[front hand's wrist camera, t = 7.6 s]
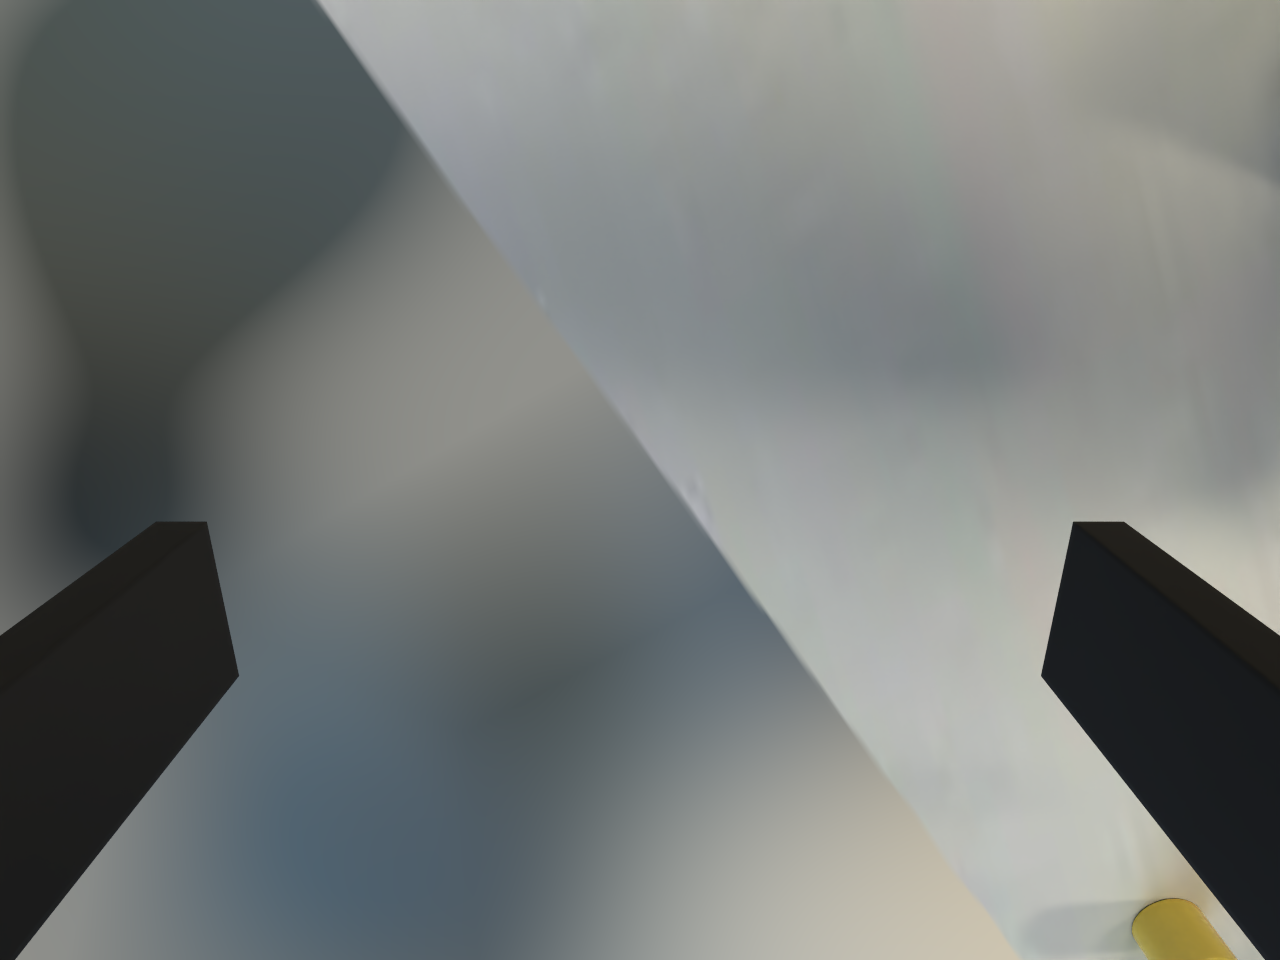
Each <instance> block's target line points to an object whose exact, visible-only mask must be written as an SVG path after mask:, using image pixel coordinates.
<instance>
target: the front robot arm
mask: <svg viewBox="0 0 1280 960" xmlns="http://www.w3.org/2000/svg"><path fill="white" fill-rule="evenodd" d="M238 676H239V674H238V669H237V664H236V659H235V654H234V650H233V645H232V640H231V635H230V631H229V626H228V621H227V616H226V612H225V607H224V602H223V597H222V593H221V588H220V583H219V578H218V573H217V569H216V564H215V559H214V554H213V549H212V545H211V540H210V535H209V530H208V526H207V522H155V523H154V524H152V525H151V526H150V527H148V528H147V529H146V530H144V531H143V532H141V533H140V534H139V535H137V536H136V537H135V538H133V539H132V540H130V541H129V542H128V543H126V544H125V545H124V546H122V547H121V548H120V549H118V550H117V551H115V552H114V553H113V554H111V555H110V556H109V557H107V558H106V559H104V560H103V561H102V562H100V563H99V564H98V565H96V566H95V567H94V568H92V569H91V570H90V571H88V572H87V573H85V574H84V575H83V576H81V577H80V578H79V579H77V580H76V581H74V582H73V583H72V584H70V585H69V586H68V587H66V588H65V589H63V590H62V591H61V592H59V593H58V594H57V595H55V596H54V597H53V598H51V599H50V600H48V601H47V602H46V603H44V604H43V605H42V606H40V607H39V608H37V609H36V610H35V611H33V612H32V613H31V614H29V615H28V616H27V617H25V618H24V619H22V620H21V621H20V622H18V623H17V624H16V625H14V626H13V627H12V628H10V629H9V630H7V631H6V632H5V633H3V634H2V635H1V636H0V960H15V959H16V958H17V956H18V955H19V954H20V953H21V951H22V950H23V949H24V948H25V946H26V945H27V944H28V942H29V941H30V940H31V939H32V937H33V936H34V935H35V934H36V932H37V931H38V930H39V928H40V927H41V926H42V925H43V923H44V922H45V921H46V920H47V918H48V917H49V916H50V915H51V913H52V912H53V911H54V910H55V908H56V907H57V906H58V905H59V903H60V902H61V901H62V899H63V898H64V897H65V896H66V894H67V893H68V892H69V891H70V889H71V888H72V887H73V886H74V884H75V883H76V882H77V880H78V879H79V878H80V877H81V875H82V874H83V873H84V872H85V870H86V869H87V868H88V867H89V865H90V864H91V863H92V861H93V860H94V859H95V858H96V856H97V855H98V854H99V853H100V851H101V850H102V849H103V847H104V846H105V845H106V844H107V842H108V841H109V840H110V839H111V837H112V836H113V835H114V834H115V832H116V831H117V830H118V828H119V827H120V826H121V825H122V823H123V822H124V821H125V820H126V818H127V817H128V816H129V815H130V813H131V812H132V811H133V809H134V808H135V807H136V806H137V804H138V803H139V802H140V801H141V799H142V798H143V797H144V796H145V794H146V793H147V792H148V790H149V789H150V788H151V787H152V785H153V784H154V783H155V782H156V780H157V779H158V778H159V777H160V775H161V774H162V773H163V771H164V770H165V769H166V768H167V766H168V765H169V764H170V763H171V761H172V760H173V759H174V758H175V756H176V755H177V754H178V752H179V751H180V750H181V749H182V747H183V746H184V745H185V744H186V742H187V741H188V740H189V738H190V737H191V736H192V735H193V733H194V732H195V731H196V730H197V728H198V727H199V726H200V725H201V723H202V722H203V721H204V720H205V718H206V717H207V716H208V714H209V713H210V712H211V711H212V709H213V708H214V707H215V706H216V704H217V703H218V702H219V701H220V699H221V698H222V697H223V695H224V694H225V693H226V692H227V690H228V689H229V688H230V687H231V685H232V684H233V683H234V682H235V680H236V679H237V678H238ZM1041 676H1042V678H1043V679H1044V680H1045V682H1046V683H1047V684H1048V685H1049V687H1050V688H1051V689H1052V690H1053V692H1054V693H1055V694H1056V695H1057V697H1058V698H1059V699H1060V701H1061V702H1062V703H1063V704H1064V706H1065V707H1066V708H1067V709H1068V711H1069V712H1070V713H1071V714H1072V716H1073V717H1074V718H1075V720H1076V721H1077V722H1078V723H1079V725H1080V726H1081V727H1082V728H1083V730H1084V731H1085V732H1086V733H1087V735H1088V736H1089V737H1090V739H1091V740H1092V741H1093V742H1094V744H1095V745H1096V746H1097V747H1098V749H1099V750H1100V751H1101V752H1102V754H1103V755H1104V756H1105V758H1106V759H1107V760H1108V761H1109V763H1110V764H1111V765H1112V766H1113V768H1114V769H1115V770H1116V771H1117V773H1118V774H1119V775H1120V777H1121V778H1122V779H1123V780H1124V782H1125V783H1126V784H1127V785H1128V787H1129V788H1130V789H1131V790H1132V792H1133V793H1134V794H1135V796H1136V797H1137V798H1138V799H1139V801H1140V802H1141V803H1142V804H1143V806H1144V807H1145V808H1146V809H1147V811H1148V812H1149V813H1150V815H1151V816H1152V817H1153V818H1154V820H1155V821H1156V822H1157V823H1158V825H1159V826H1160V827H1161V829H1162V830H1163V831H1164V832H1165V834H1166V835H1167V836H1168V837H1169V839H1170V840H1171V841H1172V842H1173V844H1174V845H1175V846H1176V848H1177V849H1178V850H1179V851H1180V853H1181V854H1182V855H1183V856H1184V858H1185V859H1186V860H1187V861H1188V863H1189V864H1190V865H1191V867H1192V868H1193V869H1194V870H1195V872H1196V873H1197V874H1198V875H1199V877H1200V878H1201V879H1202V880H1203V882H1204V883H1205V884H1206V886H1207V887H1208V888H1209V889H1210V891H1211V892H1212V893H1213V894H1214V896H1215V897H1216V898H1217V899H1218V901H1219V902H1220V903H1221V905H1222V906H1223V907H1224V908H1225V910H1226V911H1227V912H1228V913H1229V915H1230V916H1231V917H1232V918H1233V920H1234V921H1235V922H1236V924H1237V925H1238V926H1239V927H1240V929H1241V930H1242V931H1243V932H1244V934H1245V935H1246V936H1247V937H1248V939H1249V940H1250V941H1251V943H1252V944H1253V945H1254V946H1255V948H1256V949H1257V950H1258V951H1259V953H1260V954H1261V955H1262V956H1263V958H1264V959H1265V960H1280V636H1279V635H1278V634H1277V633H1275V632H1274V631H1273V630H1271V629H1270V628H1268V627H1267V626H1266V625H1264V624H1263V623H1262V622H1260V621H1259V620H1258V619H1256V618H1255V617H1253V616H1252V615H1251V614H1249V613H1248V612H1247V611H1245V610H1244V609H1243V608H1241V607H1240V606H1238V605H1237V604H1236V603H1234V602H1233V601H1232V600H1230V599H1229V598H1227V597H1226V596H1225V595H1223V594H1222V593H1221V592H1219V591H1218V590H1217V589H1215V588H1214V587H1212V586H1211V585H1210V584H1208V583H1207V582H1206V581H1204V580H1203V579H1201V578H1200V577H1199V576H1197V575H1196V574H1195V573H1193V572H1192V571H1191V570H1189V569H1188V568H1186V567H1185V566H1184V565H1182V564H1181V563H1180V562H1178V561H1177V560H1176V559H1174V558H1173V557H1171V556H1170V555H1169V554H1167V553H1166V552H1165V551H1163V550H1162V549H1160V548H1159V547H1158V546H1156V545H1155V544H1154V543H1152V542H1151V541H1150V540H1148V539H1147V538H1145V537H1144V536H1143V535H1141V534H1140V533H1139V532H1137V531H1136V530H1135V529H1133V528H1132V527H1130V526H1129V525H1128V524H1126V523H1125V522H1073V526H1072V530H1071V535H1070V540H1069V545H1068V549H1067V554H1066V559H1065V564H1064V569H1063V573H1062V578H1061V583H1060V588H1059V592H1058V597H1057V602H1056V607H1055V612H1054V616H1053V621H1052V626H1051V631H1050V635H1049V640H1048V645H1047V650H1046V654H1045V659H1044V664H1043V669H1042V674H1041Z"/></svg>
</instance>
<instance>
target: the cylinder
mask: <svg viewBox="0 0 1280 960" xmlns="http://www.w3.org/2000/svg"><path fill="white" fill-rule="evenodd" d="M1132 934H1133V937H1134V939H1135V940H1136V942H1137V943H1138V945H1139V946H1140V948H1141V950H1142V951H1143V953H1144V954H1145V956H1146V957H1147V959H1148V960H1238V959H1237V958H1236V957H1235V955H1234V954H1233V953H1232V952H1231V950H1230V949H1229V948H1228V946H1227V945H1226V944H1225V942H1224V941H1223V940H1222V938H1221V937H1220V936H1219V934H1218V933H1217V932H1216V930H1215V929H1214V928H1213V926H1212V925H1211V924H1210V922H1209V921H1208V920H1207V918H1206V917H1205V916H1204V914H1203V913H1202V912H1201V910H1200V909H1199V908H1198V907H1197V906H1196V905H1195V904H1193V903H1192V902H1189V901H1187V900H1183V899H1166V900H1162V901H1158V902H1156V903H1153V904H1151V905H1149V906H1148V907H1146V908H1145V909H1143V910H1142V911H1141V912H1140V913H1139V914H1138V915H1137V917H1136V918H1135V920H1134V922H1133V925H1132Z"/></svg>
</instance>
